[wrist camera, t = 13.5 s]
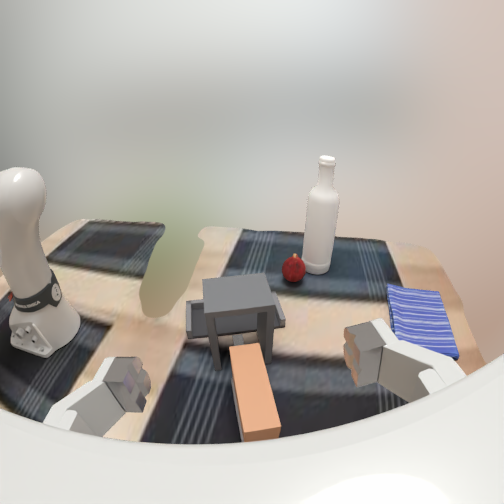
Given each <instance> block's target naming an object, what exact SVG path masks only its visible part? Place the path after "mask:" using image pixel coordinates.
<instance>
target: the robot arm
mask: <svg viewBox="0 0 504 504" xmlns="http://www.w3.org/2000/svg"><path fill="white" fill-rule="evenodd" d="M45 204H46V186H45V183H44V180H43V178H42V177H41V175H40V174H39V173H38V172H37V171H35V170H33V169H29V168H22V167H14V168H10V169H7V170H4V171H1V172H0V253H1V255H0V268H1V270H2V272H3V274H4V276H5V278H6V280H7V283H8V285H9V286H10V288H11V290H12V292H11V293H10V295H9V297H10V296H11V297H10V300H9V301H11V299H12V298H13V300H14V307H13V310H12V312H11V315H10V318H9V325H10V328H11V330H12V335H11V344H12V346H13V347H15V348H18V349H21V350H23V351H26V352H29V353H32V354H35V355H38V356H41V357H44V358H48V357H49V356H51V355H52V354H53V353H54V352H55V351H56V350H57V349H59V348H61V347H63V346H64V345H66V344H67V343H68V342H70V341H71V340H72V339H73V337H74V336H75V335H76V333H77V332H78V329H79V327H80V316H79V314H78V313H77V312H76V311H75V310H74V309H73V307H72V306H71V305H70V303H69V301H67V299H66V298H65V296H64V295H63V293H62V292H61V289H60V286H59V283H58V281H57V279H56V277H55V274H54V272H53V271H52V270H51V269H50V267H49V265H48V262H47V260H46V257H45V254H44V252H43V249H42V246H41V242H40V236H39V219H40V216H41V214H42V212H43V210H44V207H45ZM9 297H8V298H9ZM344 338H345V340H346V343H345V344H344V357H345V361H346V364H347V366H348V368H350V369H352V378H353V380H354V382H355V384H356V386H357V387H360V386H364V385H367V384H371V383H375V382H378V383H379V384H381V385H382V386H384V387H385V388H387V389H388V390H390V391H392V392H393V393H395V394H396V395H398V396H399V397H401V398H403V399H404V400H406V401H407V402H409V403H408V404H406V405H403V406H401V407H398V408H395V409H393V410H390V411H387V412H384V413H381V414H378V415H375V416H372V417H369V418H366V419H363V420H359V421H356V422H352V423H349V424H345V425H341V426H337V427H333V428H329V429H325V430H321V431H316V432H311V433H306V434H301V435H295V436H290V437H283V438H277V439H270V440H262V441H253V442H242V443H228V444H201V445H185V444H159V443H145V442H135V441H126V440H118V439H111V438H105V437H102V436H103V435H104V434H105V433H106V432H107V431H108V430H109V429H110V428H111V427H112V426H113V425H114V424H115V423H116V422H117V421H118V420H119V419H120V418H121V417H122V416H123V415H124V414H125V412H143V410H144V407H145V404H146V399H145V396H146V395H147V394H149V392H150V389H151V381H150V378H149V375H148V373H147V372H146V371H145V370H143V369H142V365H143V364H142V362H141V360H140V358H138V357H107V358H105V360H104V361H103V363H102V365H101V366H100V368H99V370H98V372H97V373H96V375H95V377H94V379H93V380H92V381H89V382H87V383H86V384H84V385H83V386H81V387H80V388H78V389H77V390H75V391H74V392H72V393H71V394H69V395H68V396H66V397H65V398H63V399H62V400H60V401H59V402H57V403H56V404H54V405H53V406H52V408H51V409H50V411H49V413H48V415H47V416H46V418H45V420H44V422H43V423H40V422H37V421H34V420H31V419H28V418H25V417H22V416H19V415H16V414H14V413H11V412H9V411H6V410H4V409H1V408H0V504H504V354H502V355H501V356H500V357H498V358H496V359H495V360H493V361H492V362H490V363H489V364H487V365H485V366H483V367H482V368H480V369H478V370H477V371H475V372H473V373H471V374H470V375H468V376H466V374H465V373H464V372H463V371H462V369H461V368H460V367H459V366H458V365H457V363H456V362H455V361H454V360H453V359H452V358H451V357H449V356H446V355H443V354H440V353H437V352H434V351H432V350H429V349H426V348H423V347H421V346H418V345H415V344H412V343H410V342H407V341H404V340H401V341H399V340H398V338H397V337H396V336H395V334H394V333H393V332H392V330H391V329H390V328H389V327H388V325H387V324H386V323H385V321H384V320H383V319H382V318H378V319H375V320H372V321H369V322H366V323H362V324H358V325H354V326H350V327H346V328H345V329H344Z"/></svg>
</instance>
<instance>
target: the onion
mask: <svg viewBox="0 0 504 504" xmlns="http://www.w3.org/2000/svg"><path fill="white" fill-rule="evenodd" d="M305 271H306V266H305V264H304V262H303V260H302V259H300V258H299V257H297V254H293V257H290V258H288V259H287V260H286V261H285V262H284V264H283V266H282V273H283V276H284V277H285V278H286V279H287V280H288V281H290V282H297V281H299V280H301V279H302V278H303V276H304V275H305Z"/></svg>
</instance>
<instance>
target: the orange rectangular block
mask: <svg viewBox="0 0 504 504" xmlns="http://www.w3.org/2000/svg"><path fill="white" fill-rule="evenodd" d="M229 350H230V358H231V367H232V375H233V378H231V383H232V389H233V395H234V401H235V407H236V413H237V419H238V424H239V430H240V435H241V441H242V442H253V441H262V440H270V439H277V438H278V437H279V433H280V429H281V424H280V420H279V416H278V413H277V409H276V405H275V401H274V398H273V394H272V390H271V386H270V383H269V379H268V375H267V371H266V367H265V363H264V359H263V356H262V352H261V348H260V344H259V343H254V344H246V345H239V346H230V347H229Z"/></svg>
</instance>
